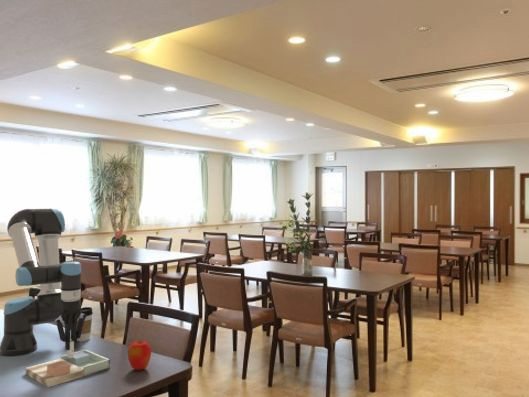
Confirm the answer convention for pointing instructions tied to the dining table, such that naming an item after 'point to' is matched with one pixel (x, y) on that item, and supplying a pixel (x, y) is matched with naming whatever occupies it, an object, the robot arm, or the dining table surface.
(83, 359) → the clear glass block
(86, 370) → the box
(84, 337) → the coffee cup
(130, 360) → the apple
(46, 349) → the dining table surface
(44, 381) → the light wooden slatted rack
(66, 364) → the tile terracotta
